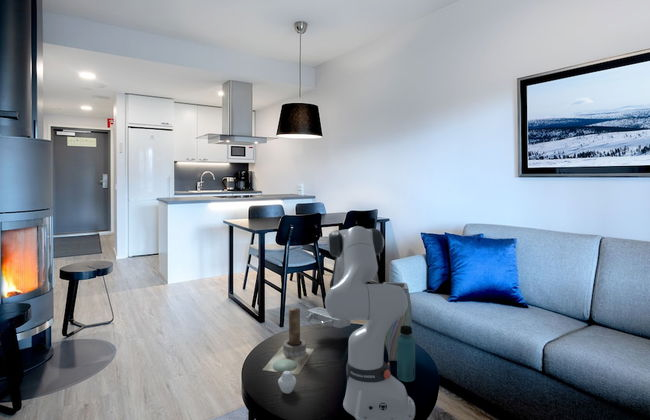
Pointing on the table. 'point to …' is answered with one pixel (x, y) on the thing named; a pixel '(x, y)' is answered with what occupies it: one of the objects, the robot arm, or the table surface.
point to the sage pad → (284, 365)
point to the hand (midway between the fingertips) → (314, 321)
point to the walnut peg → (294, 326)
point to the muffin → (287, 382)
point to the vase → (398, 325)
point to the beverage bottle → (406, 355)
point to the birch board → (291, 356)
